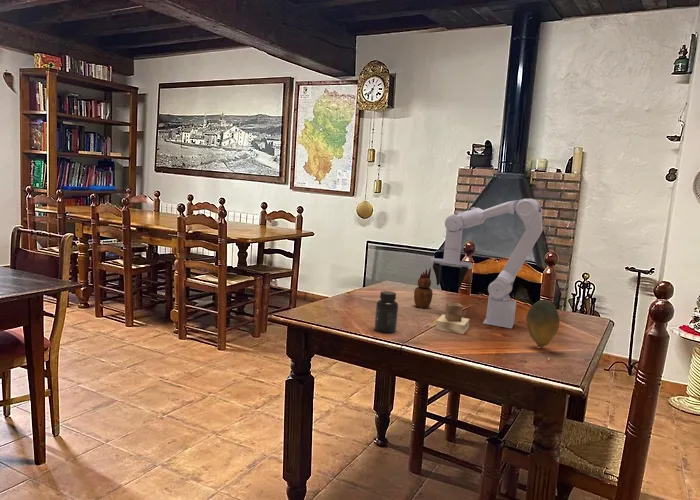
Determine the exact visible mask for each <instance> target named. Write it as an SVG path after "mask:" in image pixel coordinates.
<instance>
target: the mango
mask: <svg viewBox="0 0 700 500" xmlns="http://www.w3.org/2000/svg"><path fill="white" fill-rule="evenodd" d="M525 317H526V318H525V319H526V327H527V330H528V334H529V337H531V340H533V342H535V344H536V345H537V347H540V348H542V349H543V348H544V347H545V346H548V345H549V344H550V342H551V341H552V340H553V339H554V337H555V336H556V334H557V333H558V331H559V327H560V322H561V321H560V316H559V312H558V309H557V307H556V306H555V304H554V303H553V302H552V301H550V300H547V299H540V300H537V301H535V303H533V304H532V306H530V308H529V309H528V312H527V315H526V316H525Z"/></svg>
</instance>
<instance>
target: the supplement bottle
mask: <svg viewBox="0 0 700 500" xmlns="http://www.w3.org/2000/svg"><path fill="white" fill-rule="evenodd" d="M396 299H397V293H396V292H394V291H389V290H383V291H380V295H379V299H378V300H377V301H376V304H375V317H374V330H375V331H376V332H378V333H382V334H383V333H384V334H392V333H395V332H396V331H397V327H398V326H397V323H398V314H399V313H398V312H399V303H398V302H397V300H396Z"/></svg>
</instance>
